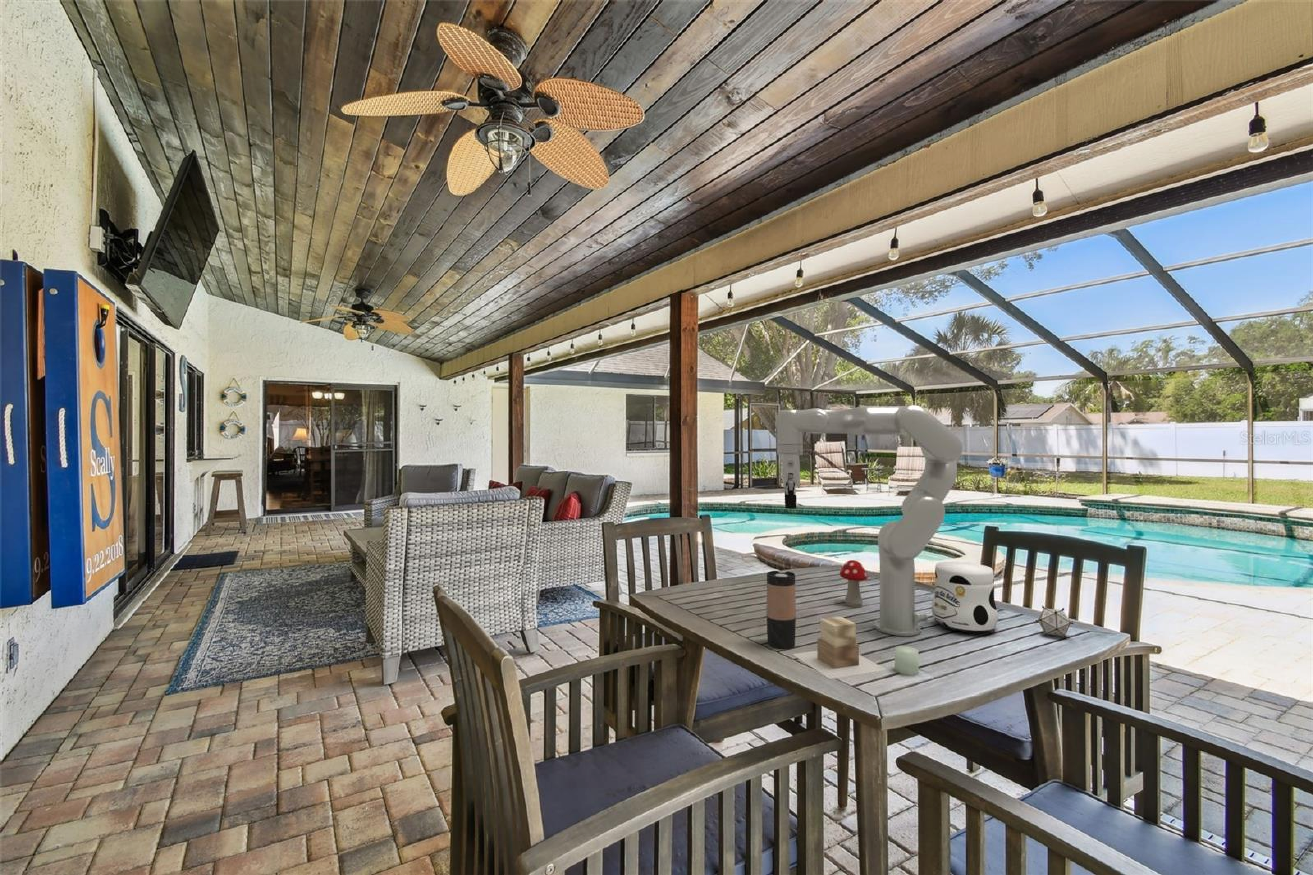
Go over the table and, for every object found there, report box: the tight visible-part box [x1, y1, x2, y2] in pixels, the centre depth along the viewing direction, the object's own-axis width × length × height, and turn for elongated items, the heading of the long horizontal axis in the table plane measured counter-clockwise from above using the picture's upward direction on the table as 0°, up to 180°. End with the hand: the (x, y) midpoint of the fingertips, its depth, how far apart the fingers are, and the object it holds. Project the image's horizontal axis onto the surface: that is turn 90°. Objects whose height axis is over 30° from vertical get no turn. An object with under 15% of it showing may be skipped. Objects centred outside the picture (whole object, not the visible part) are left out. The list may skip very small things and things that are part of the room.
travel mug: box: [766, 570, 797, 651], centre depth 154 cm, size 8×8×20 cm
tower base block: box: [816, 637, 860, 669], centre depth 142 cm, size 7×7×5 cm
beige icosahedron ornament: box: [1035, 605, 1075, 640], centre depth 163 cm, size 9×8×10 cm
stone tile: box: [792, 650, 888, 680], centre depth 142 cm, size 16×16×1 cm
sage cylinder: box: [894, 645, 920, 676], centre depth 136 cm, size 5×5×6 cm
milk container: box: [931, 561, 999, 634], centre depth 170 cm, size 17×17×18 cm
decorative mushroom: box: [839, 559, 869, 608], centre depth 194 cm, size 10×9×15 cm
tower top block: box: [819, 616, 857, 647], centre depth 142 cm, size 6×6×5 cm
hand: (790, 506), depth 174 cm, fingers open, 9 cm apart
